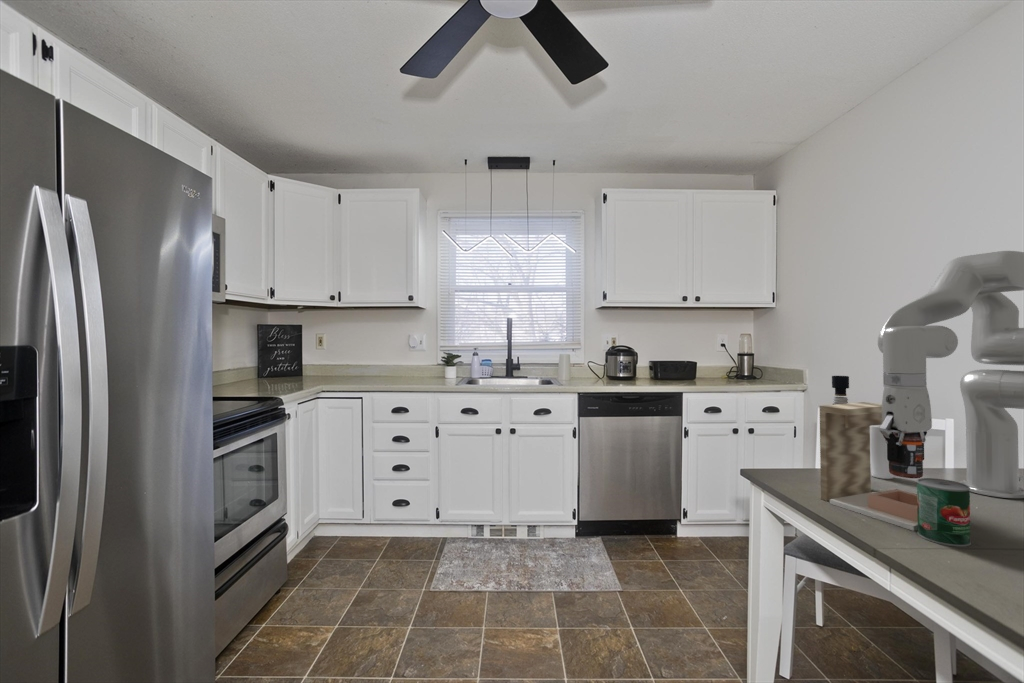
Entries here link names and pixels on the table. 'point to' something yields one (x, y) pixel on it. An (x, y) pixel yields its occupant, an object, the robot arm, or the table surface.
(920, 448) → the supplement bottle
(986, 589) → the table surface
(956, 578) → the table surface
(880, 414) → the wood grain block
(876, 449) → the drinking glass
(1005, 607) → the table surface
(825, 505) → the table surface
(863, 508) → the socket
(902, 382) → the robot arm
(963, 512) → the canned tomato
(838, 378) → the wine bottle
